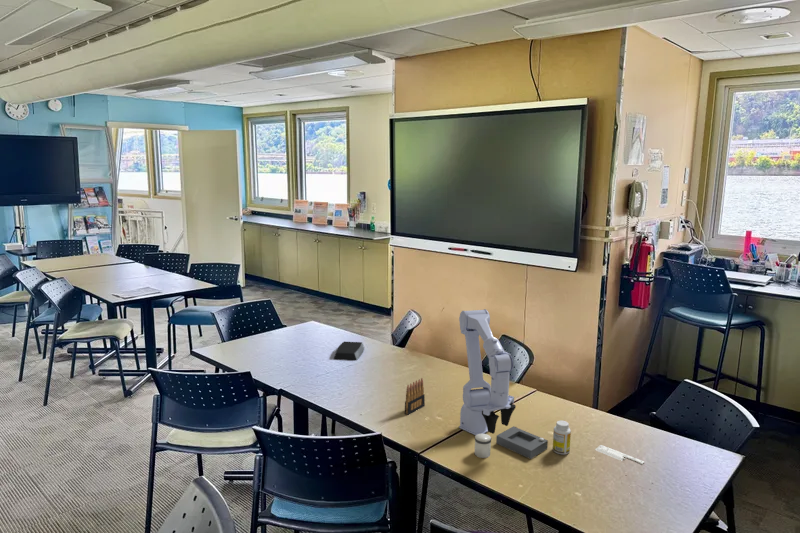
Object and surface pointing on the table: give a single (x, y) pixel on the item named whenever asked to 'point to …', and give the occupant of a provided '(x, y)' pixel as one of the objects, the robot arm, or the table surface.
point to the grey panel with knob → (522, 442)
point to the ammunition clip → (414, 397)
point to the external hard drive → (349, 351)
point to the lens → (482, 445)
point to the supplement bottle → (561, 437)
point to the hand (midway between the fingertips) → (498, 428)
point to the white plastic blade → (616, 454)
